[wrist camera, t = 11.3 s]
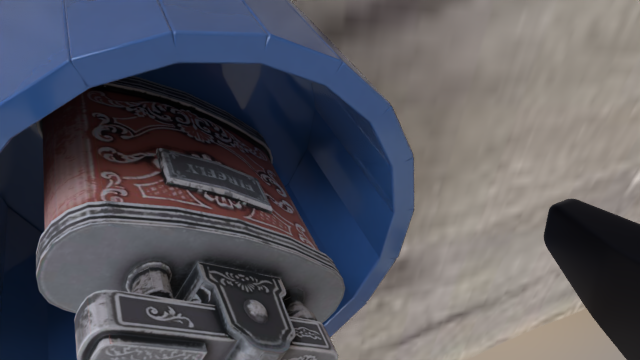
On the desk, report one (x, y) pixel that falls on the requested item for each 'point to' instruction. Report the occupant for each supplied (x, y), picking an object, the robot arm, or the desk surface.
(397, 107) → the desk surface
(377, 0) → the desk surface
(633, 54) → the desk surface
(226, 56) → the blue round bin
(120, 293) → the lighter
